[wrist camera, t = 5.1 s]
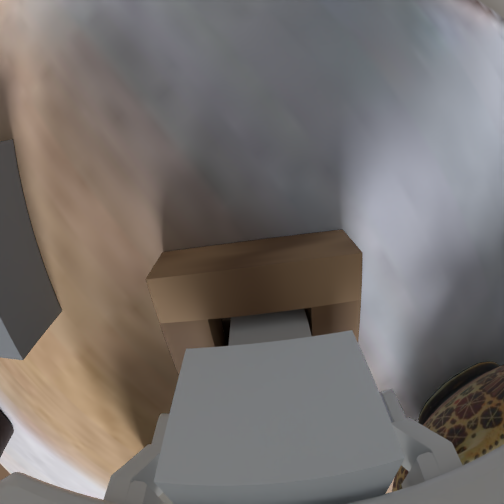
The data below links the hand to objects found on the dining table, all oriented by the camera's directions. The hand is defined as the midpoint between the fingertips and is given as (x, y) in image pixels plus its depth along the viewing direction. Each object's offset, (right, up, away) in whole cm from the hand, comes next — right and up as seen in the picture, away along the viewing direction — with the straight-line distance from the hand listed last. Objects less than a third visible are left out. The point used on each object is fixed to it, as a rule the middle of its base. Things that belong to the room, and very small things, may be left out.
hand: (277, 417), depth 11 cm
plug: (0, +2, +5) cm, 6 cm away
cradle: (0, +3, +6) cm, 7 cm away
